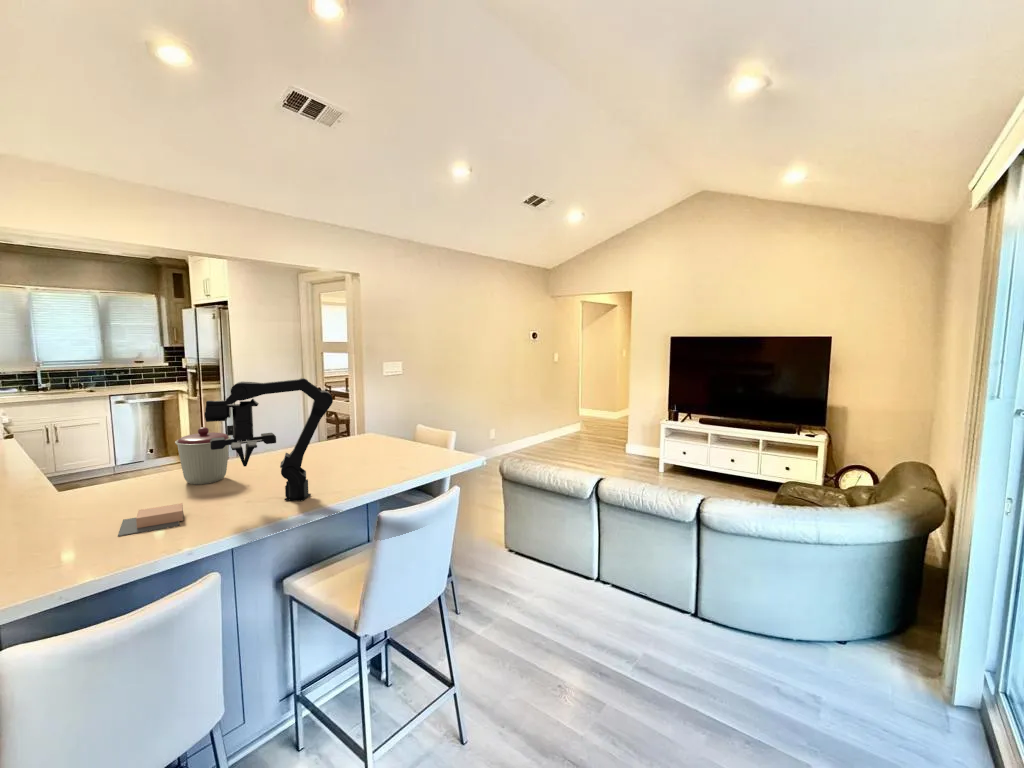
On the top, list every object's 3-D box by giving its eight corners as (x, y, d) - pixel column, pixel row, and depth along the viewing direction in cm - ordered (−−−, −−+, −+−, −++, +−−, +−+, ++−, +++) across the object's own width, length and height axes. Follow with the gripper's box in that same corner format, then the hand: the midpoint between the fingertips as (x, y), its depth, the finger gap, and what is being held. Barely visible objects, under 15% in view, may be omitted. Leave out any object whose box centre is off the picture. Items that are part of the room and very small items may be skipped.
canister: (214, 471, 195) (212, 421, 193) (243, 477, 188) (240, 425, 186) (167, 483, 179) (163, 429, 177) (196, 490, 171) (192, 433, 169)
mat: (179, 511, 151) (179, 510, 151) (179, 525, 140) (178, 524, 140) (123, 520, 143) (123, 519, 143) (117, 536, 132) (117, 535, 132)
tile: (182, 503, 149) (138, 509, 143) (182, 510, 142) (136, 518, 136) (183, 512, 149) (139, 520, 143) (183, 520, 143) (136, 528, 136)
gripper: (270, 414, 167) (272, 457, 169) (208, 418, 157) (210, 464, 158) (275, 418, 158) (277, 464, 160) (209, 424, 148) (212, 472, 149)
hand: (244, 466), depth 157 cm, fingers closed
